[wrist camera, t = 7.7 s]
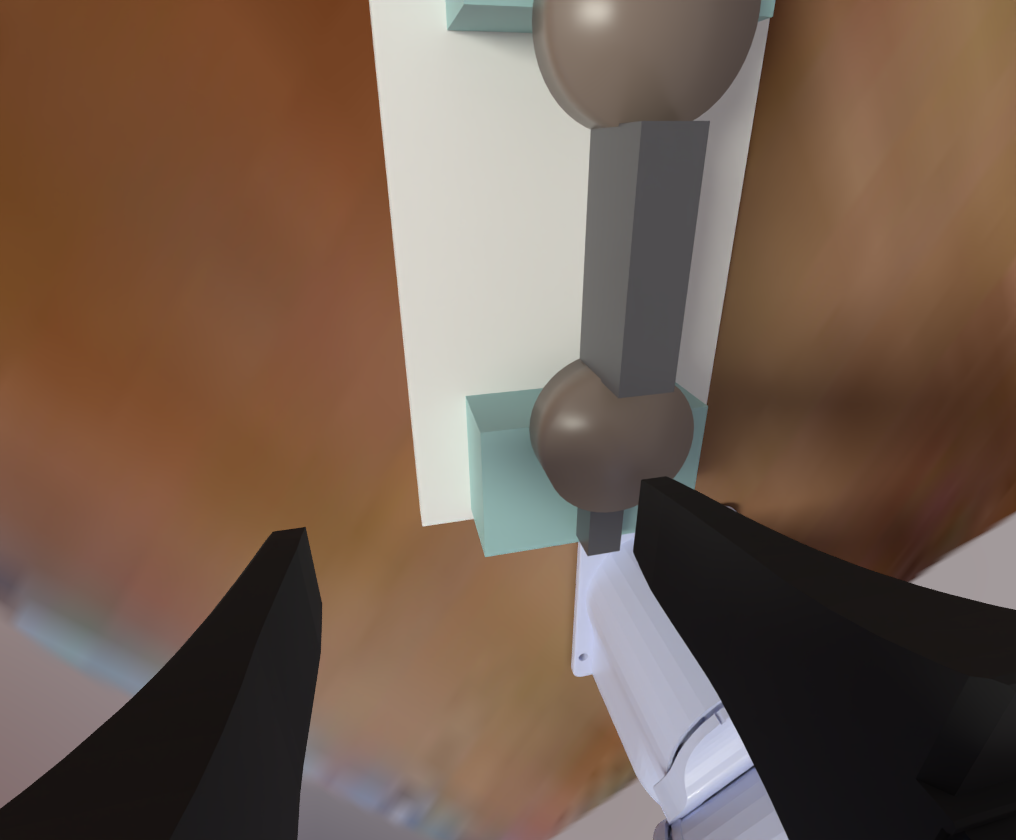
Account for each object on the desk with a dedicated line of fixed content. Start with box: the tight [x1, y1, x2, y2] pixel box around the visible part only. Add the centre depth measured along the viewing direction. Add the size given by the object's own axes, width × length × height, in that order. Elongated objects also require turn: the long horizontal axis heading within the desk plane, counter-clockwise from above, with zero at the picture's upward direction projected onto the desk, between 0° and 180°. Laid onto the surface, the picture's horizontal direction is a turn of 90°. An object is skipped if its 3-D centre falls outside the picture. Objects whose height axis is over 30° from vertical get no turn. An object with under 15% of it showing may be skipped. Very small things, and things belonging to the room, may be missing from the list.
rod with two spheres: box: [529, 0, 761, 556], centre depth 14 cm, size 20×5×3 cm, turn 1°
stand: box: [369, 0, 775, 557], centre depth 17 cm, size 22×12×4 cm, turn 1°
